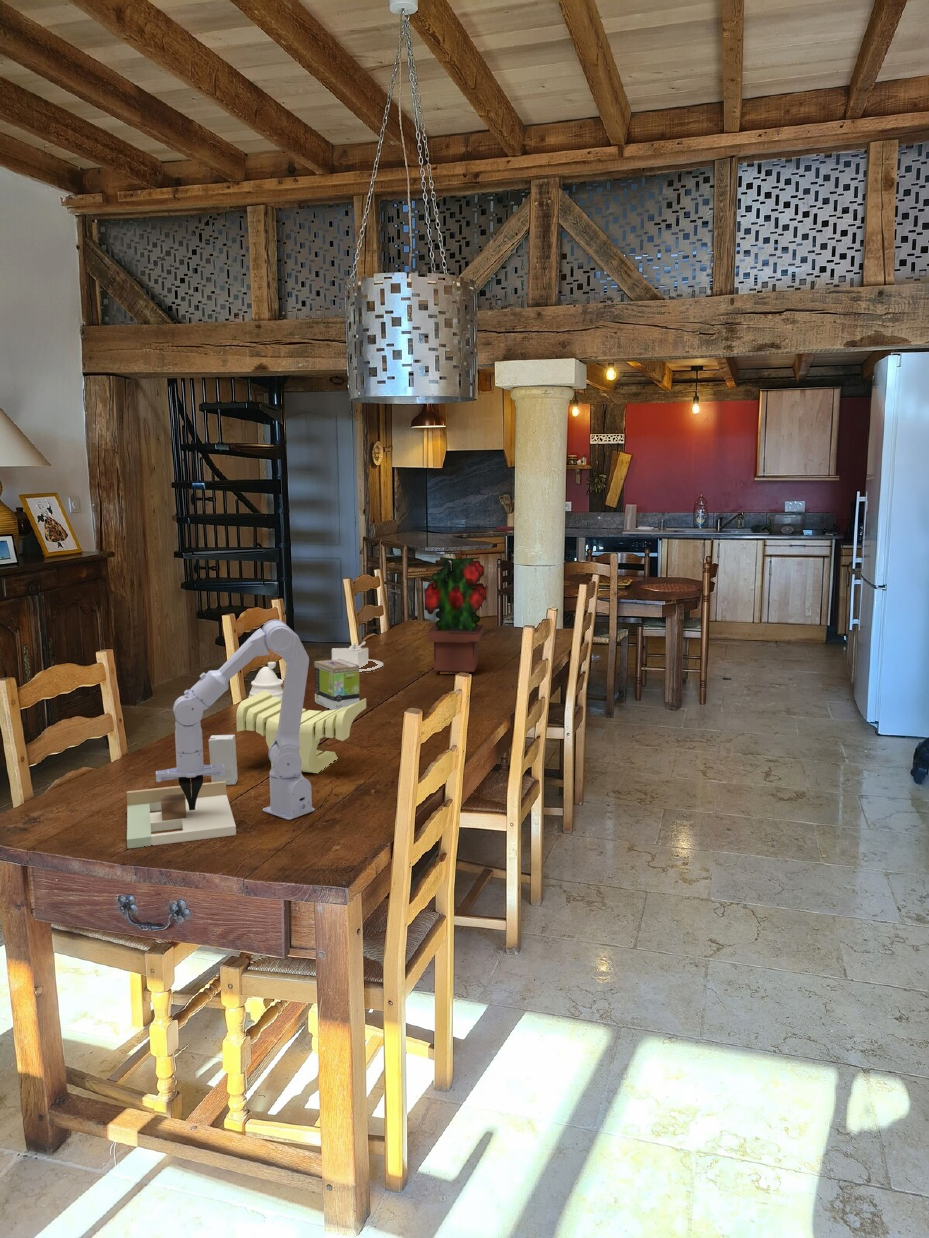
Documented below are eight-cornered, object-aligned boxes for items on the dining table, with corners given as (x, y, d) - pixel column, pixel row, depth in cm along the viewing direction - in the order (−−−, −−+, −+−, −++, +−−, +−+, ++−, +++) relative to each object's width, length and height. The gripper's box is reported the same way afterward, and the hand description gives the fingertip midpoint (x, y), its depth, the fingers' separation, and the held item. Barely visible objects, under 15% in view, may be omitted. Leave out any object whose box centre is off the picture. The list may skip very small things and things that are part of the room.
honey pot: (292, 713, 297) (291, 659, 294) (281, 723, 284) (279, 667, 281) (254, 712, 298) (252, 658, 295) (241, 722, 285) (239, 666, 282)
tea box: (360, 708, 303) (360, 664, 301) (333, 712, 298) (332, 668, 295) (340, 699, 316) (339, 657, 313) (314, 703, 310) (313, 660, 308)
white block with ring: (392, 663, 378) (391, 636, 376) (369, 675, 354) (369, 647, 352) (337, 660, 384) (337, 633, 383) (311, 672, 361) (311, 644, 359)
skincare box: (238, 779, 231) (236, 733, 229) (235, 785, 227) (233, 738, 225) (213, 780, 231) (211, 734, 229) (210, 786, 226) (208, 739, 224)
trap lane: (226, 800, 216) (225, 780, 215) (236, 834, 195) (235, 812, 195) (127, 812, 208) (126, 791, 208) (127, 848, 188) (126, 825, 187)
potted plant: (486, 666, 370) (486, 556, 363) (481, 678, 348) (482, 561, 341) (432, 665, 372) (431, 556, 365) (424, 677, 350) (424, 561, 343)
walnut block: (184, 810, 204) (184, 793, 204) (186, 817, 200) (185, 800, 199) (161, 812, 203) (160, 795, 202) (162, 820, 198) (161, 803, 197)
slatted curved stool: (238, 769, 239) (235, 703, 236) (267, 752, 254) (265, 690, 252) (343, 780, 231) (342, 712, 228) (367, 761, 246) (366, 697, 243)
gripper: (155, 758, 194) (158, 818, 196) (224, 751, 199) (227, 810, 201) (154, 749, 201) (157, 807, 203) (221, 742, 205) (224, 800, 208)
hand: (191, 808), depth 202 cm, fingers closed
